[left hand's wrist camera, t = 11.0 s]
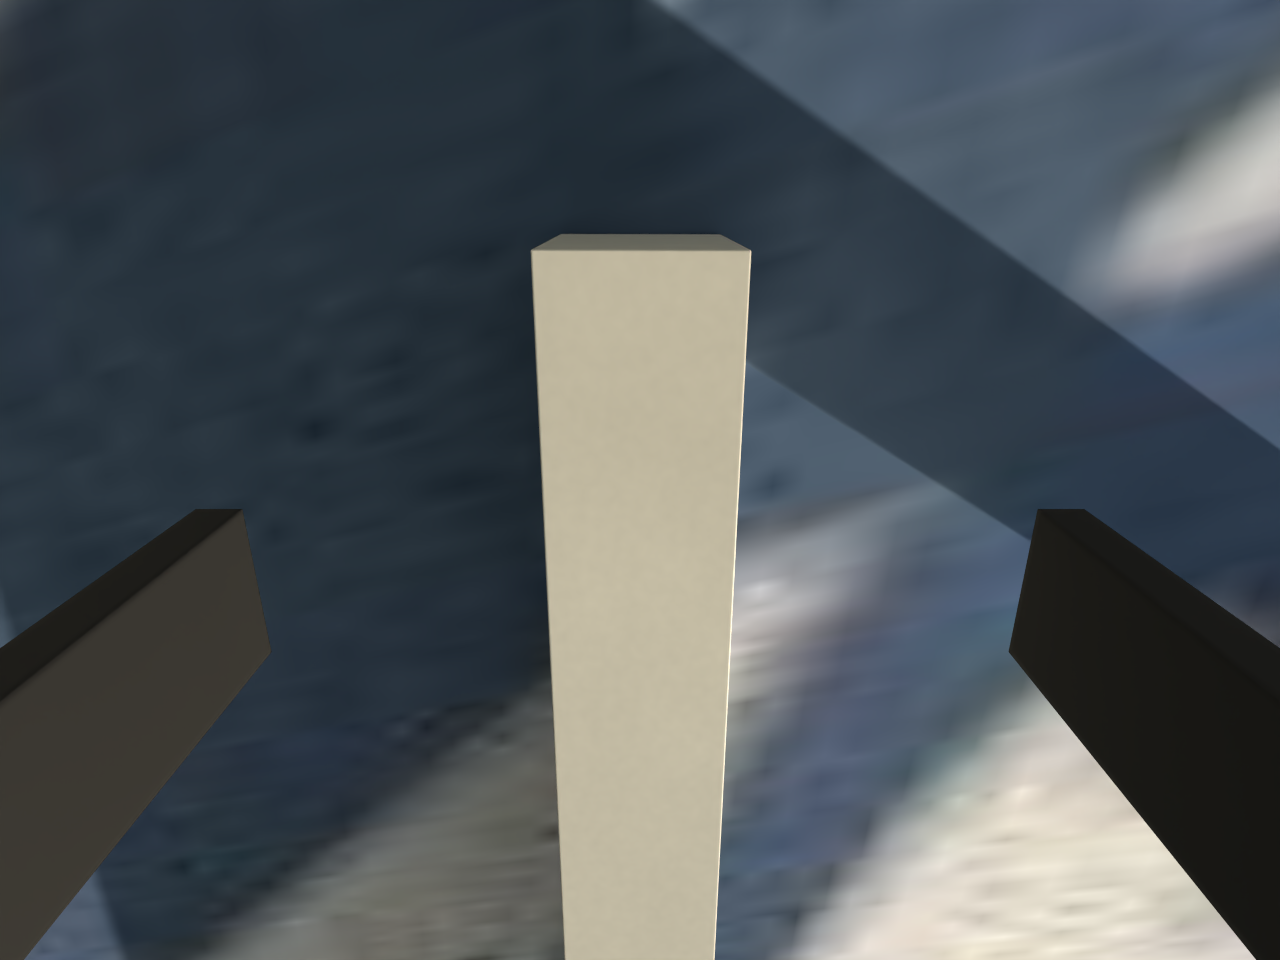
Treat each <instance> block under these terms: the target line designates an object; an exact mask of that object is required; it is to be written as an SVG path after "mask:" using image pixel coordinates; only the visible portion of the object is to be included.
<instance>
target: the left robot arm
mask: <svg viewBox="0 0 1280 960" xmlns="http://www.w3.org/2000/svg"><path fill="white" fill-rule="evenodd" d="M270 653H271V648H270V643H269V638H268V633H267V628H266V623H265V618H264V613H263V608H262V604H261V599H260V594H259V589H258V584H257V579H256V574H255V569H254V564H253V559H252V555H251V550H250V545H249V540H248V535H247V530H246V525H245V520H244V515H243V510H242V509H195V510H194V511H193V512H191V513H190V514H188V515H187V516H186V517H184V518H183V519H181V520H180V521H179V522H177V523H176V524H174V525H173V526H172V527H170V528H169V529H167V530H166V531H164V532H163V533H162V534H160V535H159V536H157V537H156V538H155V539H153V540H152V541H150V542H149V543H148V544H146V545H145V546H143V547H142V548H141V549H139V550H138V551H136V552H135V553H134V554H132V555H131V556H129V557H128V558H127V559H125V560H124V561H122V562H121V563H119V564H118V565H117V566H115V567H114V568H112V569H111V570H110V571H108V572H107V573H105V574H104V575H103V576H101V577H100V578H98V579H97V580H96V581H94V582H93V583H91V584H90V585H89V586H87V587H86V588H84V589H83V590H82V591H80V592H79V593H77V594H76V595H74V596H73V597H72V598H70V599H69V600H67V601H66V602H65V603H63V604H62V605H60V606H59V607H58V608H56V609H55V610H53V611H52V612H51V613H49V614H48V615H46V616H45V617H44V618H42V619H41V620H39V621H38V622H37V623H35V624H34V625H32V626H31V627H29V628H28V629H27V630H25V631H24V632H22V633H21V634H20V635H18V636H17V637H15V638H14V639H13V640H11V641H10V642H8V643H7V644H6V645H4V646H3V647H1V648H0V960H24V959H25V958H26V956H27V955H28V954H29V953H30V951H31V950H32V949H33V948H34V946H35V945H36V944H37V943H38V941H39V940H40V939H41V938H42V936H43V935H44V934H45V933H46V931H47V930H48V929H49V928H50V926H51V925H52V924H53V923H54V922H55V920H56V919H57V918H58V917H59V915H60V914H61V913H62V912H63V910H64V909H65V908H66V907H67V905H68V904H69V903H70V902H71V900H72V899H73V898H74V897H75V895H76V894H77V893H78V892H79V890H80V889H81V888H82V887H83V885H84V884H85V883H86V882H87V880H88V879H89V878H90V877H91V875H92V874H93V873H94V872H95V871H96V869H97V868H98V867H99V866H100V864H101V863H102V862H103V861H104V859H105V858H106V857H107V856H108V854H109V853H110V852H111V851H112V849H113V848H114V847H115V846H116V844H117V843H118V842H119V841H120V839H121V838H122V837H123V836H124V834H125V833H126V832H127V831H128V829H129V828H130V827H131V826H132V825H133V823H134V822H135V821H136V820H137V818H138V817H139V816H140V815H141V813H142V812H143V811H144V810H145V808H146V807H147V806H148V805H149V803H150V802H151V801H152V800H153V798H154V797H155V796H156V795H157V793H158V792H159V791H160V790H161V788H162V787H163V786H164V785H165V783H166V782H167V781H168V780H169V778H170V777H171V776H172V775H173V774H174V772H175V771H176V770H177V769H178V767H179V766H180V765H181V764H182V762H183V761H184V760H185V759H186V757H187V756H188V755H189V754H190V752H191V751H192V750H193V749H194V747H195V746H196V745H197V744H198V742H199V741H200V740H201V739H202V737H203V736H204V735H205V734H206V732H207V731H208V730H209V729H210V727H211V726H212V725H213V724H214V723H215V721H216V720H217V719H218V718H219V716H220V715H221V714H222V713H223V711H224V710H225V709H226V708H227V706H228V705H229V704H230V703H231V701H232V700H233V699H234V698H235V696H236V695H237V694H238V693H239V691H240V690H241V689H242V688H243V686H244V685H245V684H246V683H247V681H248V680H249V679H250V678H251V677H252V675H253V674H254V673H255V672H256V670H257V669H258V668H259V667H260V665H261V664H262V663H263V662H264V660H265V659H266V658H267V657H268V655H269V654H270ZM1009 653H1010V654H1011V655H1012V657H1013V658H1014V659H1015V660H1016V662H1017V663H1018V664H1019V665H1020V667H1021V668H1022V669H1023V670H1024V672H1025V673H1026V674H1027V675H1028V677H1029V678H1030V679H1031V680H1032V681H1033V683H1034V684H1035V685H1036V686H1037V688H1038V689H1039V690H1040V691H1041V693H1042V694H1043V695H1044V696H1045V698H1046V699H1047V700H1048V701H1049V703H1050V704H1051V705H1052V706H1053V708H1054V709H1055V710H1056V711H1057V713H1058V714H1059V715H1060V716H1061V718H1062V719H1063V720H1064V721H1065V723H1066V724H1067V725H1068V726H1069V727H1070V729H1071V730H1072V731H1073V732H1074V734H1075V735H1076V736H1077V737H1078V739H1079V740H1080V741H1081V742H1082V744H1083V745H1084V746H1085V747H1086V749H1087V750H1088V751H1089V752H1090V754H1091V755H1092V756H1093V757H1094V759H1095V760H1096V761H1097V762H1098V764H1099V765H1100V766H1101V767H1102V769H1103V770H1104V771H1105V772H1106V774H1107V775H1108V776H1109V777H1110V778H1111V780H1112V781H1113V782H1114V783H1115V785H1116V786H1117V787H1118V788H1119V790H1120V791H1121V792H1122V793H1123V795H1124V796H1125V797H1126V798H1127V800H1128V801H1129V802H1130V803H1131V805H1132V806H1133V807H1134V808H1135V810H1136V811H1137V812H1138V813H1139V815H1140V816H1141V817H1142V818H1143V820H1144V821H1145V822H1146V823H1147V824H1148V826H1149V827H1150V828H1151V829H1152V831H1153V832H1154V833H1155V834H1156V836H1157V837H1158V838H1159V839H1160V841H1161V842H1162V843H1163V844H1164V846H1165V847H1166V848H1167V849H1168V851H1169V852H1170V853H1171V854H1172V856H1173V857H1174V858H1175V859H1176V861H1177V862H1178V863H1179V864H1180V866H1181V867H1182V868H1183V869H1184V871H1185V872H1186V873H1187V874H1188V875H1189V877H1190V878H1191V879H1192V880H1193V882H1194V883H1195V884H1196V885H1197V887H1198V888H1199V889H1200V890H1201V892H1202V893H1203V894H1204V895H1205V897H1206V898H1207V899H1208V900H1209V902H1210V903H1211V904H1212V905H1213V907H1214V908H1215V909H1216V910H1217V912H1218V913H1219V914H1220V915H1221V917H1222V918H1223V919H1224V920H1225V922H1226V923H1227V924H1228V925H1229V926H1230V928H1231V929H1232V930H1233V931H1234V933H1235V934H1236V935H1237V936H1238V938H1239V939H1240V940H1241V941H1242V943H1243V944H1244V945H1245V946H1246V948H1247V949H1248V950H1249V951H1250V953H1251V954H1252V955H1253V956H1254V958H1255V959H1256V960H1280V648H1279V647H1277V646H1276V645H1274V644H1273V643H1272V642H1270V641H1269V640H1267V639H1266V638H1265V637H1263V636H1262V635H1260V634H1259V633H1258V632H1256V631H1255V630H1253V629H1252V628H1251V627H1249V626H1248V625H1246V624H1245V623H1243V622H1242V621H1241V620H1239V619H1238V618H1236V617H1235V616H1234V615H1232V614H1231V613H1229V612H1228V611H1227V610H1225V609H1224V608H1222V607H1221V606H1220V605H1218V604H1217V603H1215V602H1214V601H1213V600H1211V599H1210V598H1208V597H1207V596H1206V595H1204V594H1203V593H1201V592H1200V591H1198V590H1197V589H1196V588H1194V587H1193V586H1191V585H1190V584H1189V583H1187V582H1186V581H1184V580H1183V579H1182V578H1180V577H1179V576H1177V575H1176V574H1175V573H1173V572H1172V571H1170V570H1169V569H1168V568H1166V567H1165V566H1163V565H1162V564H1161V563H1159V562H1158V561H1156V560H1155V559H1153V558H1152V557H1151V556H1149V555H1148V554H1146V553H1145V552H1144V551H1142V550H1141V549H1139V548H1138V547H1137V546H1135V545H1134V544H1132V543H1131V542H1130V541H1128V540H1127V539H1125V538H1124V537H1123V536H1121V535H1120V534H1118V533H1117V532H1116V531H1114V530H1113V529H1111V528H1110V527H1108V526H1107V525H1106V524H1104V523H1103V522H1101V521H1100V520H1099V519H1097V518H1096V517H1094V516H1093V515H1092V514H1090V513H1089V512H1087V511H1086V510H1085V509H1038V510H1037V515H1036V520H1035V525H1034V530H1033V535H1032V540H1031V545H1030V550H1029V555H1028V559H1027V564H1026V569H1025V574H1024V579H1023V584H1022V589H1021V594H1020V599H1019V604H1018V608H1017V613H1016V618H1015V623H1014V628H1013V633H1012V638H1011V643H1010V648H1009Z"/></svg>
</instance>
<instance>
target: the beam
mask: <svg viewBox="0 0 1280 960" xmlns="http://www.w3.org/2000/svg"><path fill="white" fill-rule="evenodd" d="M750 265H751V250H749V249H747V248H746V247H744V246H742V245H740V244H738V243H736V242H734V241H732V240H730V239H728V238H726V237H724V236H722V235H720V234H560V235H558V236H556V237H554V238H553V239H551V240H549V241H547V242H545V243H543V244H541V245H539V246H537V247H536V248H534V249H532V250H531V268H532V289H533V310H534V331H535V351H536V372H537V393H538V414H539V435H540V456H541V477H542V497H543V518H544V539H545V560H546V581H547V602H548V623H549V643H550V664H551V685H552V706H553V727H554V748H555V769H556V789H557V810H558V831H559V852H560V873H561V894H562V915H563V936H564V956H565V960H714V954H715V935H716V916H717V897H718V878H719V859H720V840H721V820H722V801H723V782H724V763H725V744H726V725H727V706H728V686H729V667H730V648H731V629H732V610H733V591H734V572H735V552H736V533H737V514H738V495H739V476H740V457H741V438H742V418H743V399H744V380H745V361H746V342H747V323H748V304H749V284H750Z"/></svg>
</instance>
